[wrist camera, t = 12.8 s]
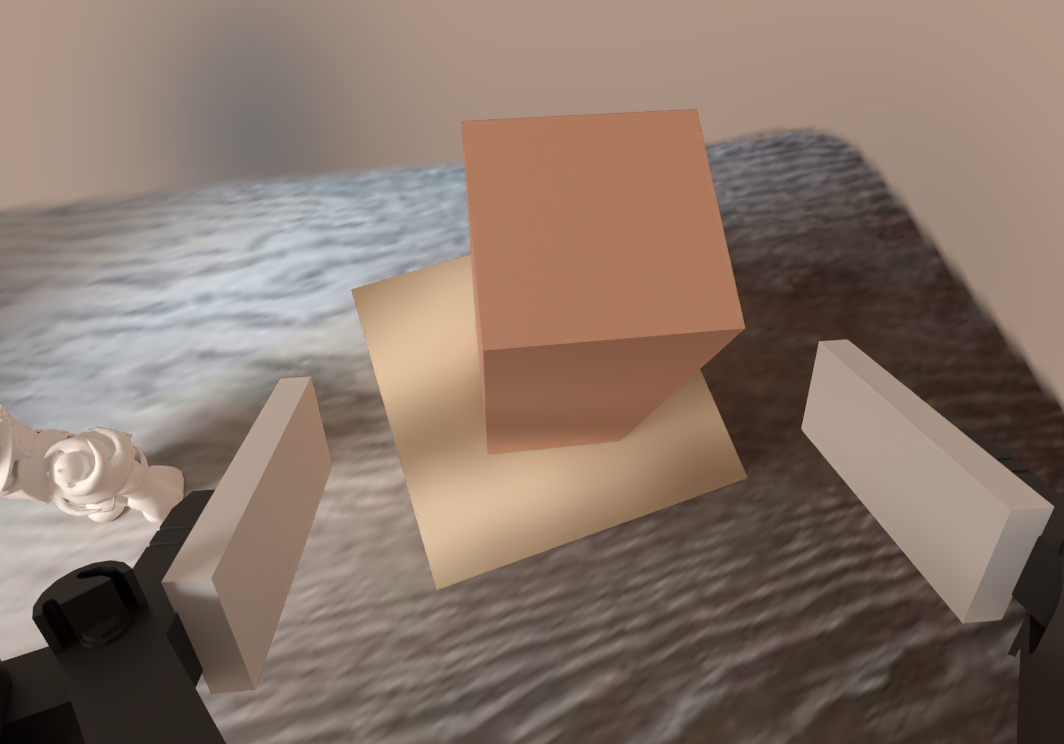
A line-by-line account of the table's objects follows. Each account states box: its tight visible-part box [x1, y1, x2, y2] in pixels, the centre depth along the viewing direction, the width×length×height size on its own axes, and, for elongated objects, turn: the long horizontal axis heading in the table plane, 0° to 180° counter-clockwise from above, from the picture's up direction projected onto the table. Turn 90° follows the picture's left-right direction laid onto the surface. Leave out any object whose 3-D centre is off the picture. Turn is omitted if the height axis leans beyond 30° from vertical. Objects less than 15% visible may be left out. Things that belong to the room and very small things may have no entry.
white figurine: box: [0, 404, 184, 522], centre depth 22 cm, size 9×4×12 cm, turn 86°
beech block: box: [351, 254, 748, 590], centre depth 27 cm, size 12×12×6 cm
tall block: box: [462, 109, 745, 455], centre depth 18 cm, size 5×5×12 cm
